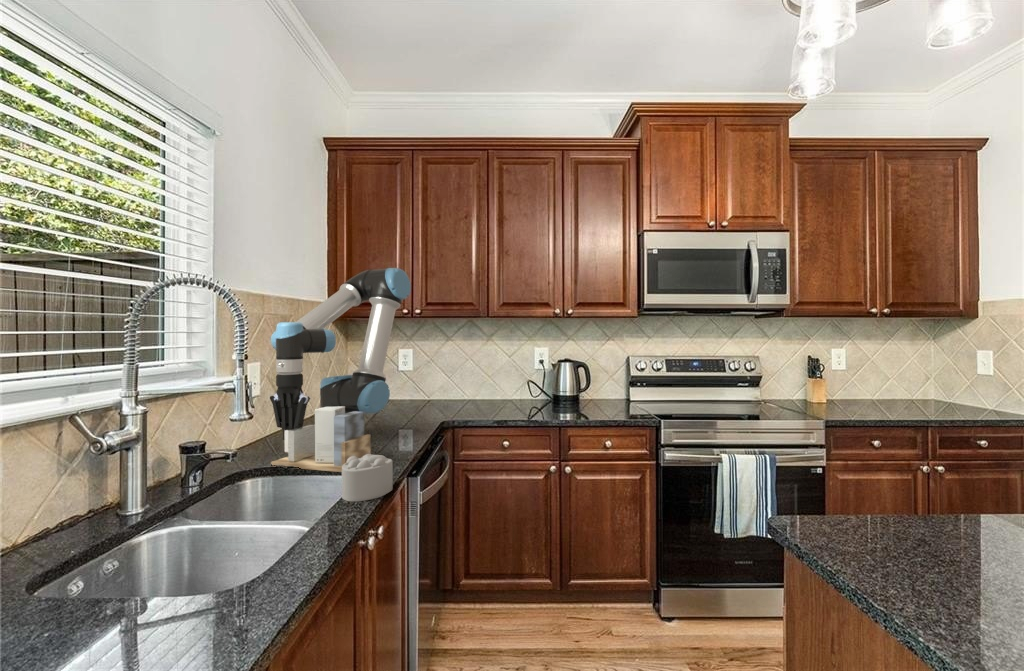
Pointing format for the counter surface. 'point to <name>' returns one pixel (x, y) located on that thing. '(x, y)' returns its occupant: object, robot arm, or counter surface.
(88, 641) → the counter surface
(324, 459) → the skincare box
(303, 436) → the grey rectangular slab
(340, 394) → the robot arm
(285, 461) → the book rack
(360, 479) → the lumpy-topped squat cylinder
